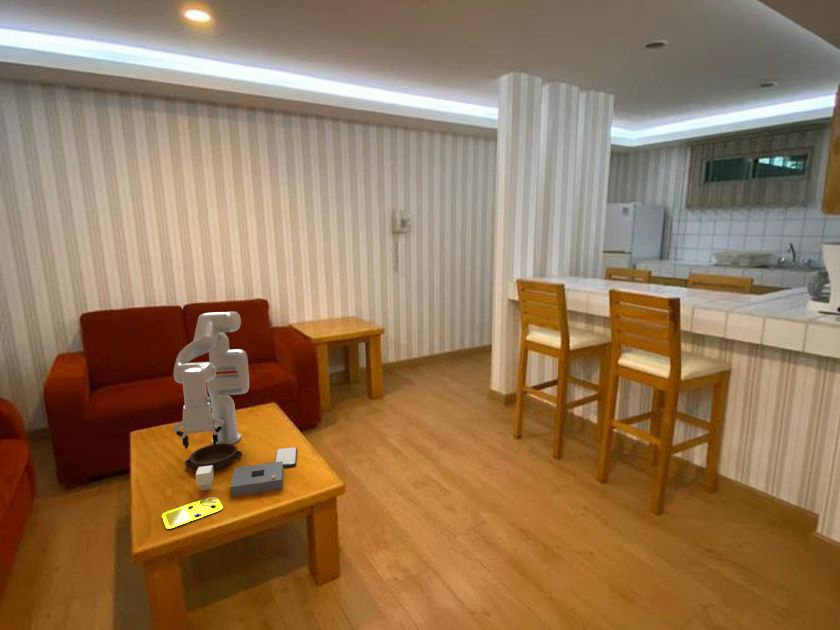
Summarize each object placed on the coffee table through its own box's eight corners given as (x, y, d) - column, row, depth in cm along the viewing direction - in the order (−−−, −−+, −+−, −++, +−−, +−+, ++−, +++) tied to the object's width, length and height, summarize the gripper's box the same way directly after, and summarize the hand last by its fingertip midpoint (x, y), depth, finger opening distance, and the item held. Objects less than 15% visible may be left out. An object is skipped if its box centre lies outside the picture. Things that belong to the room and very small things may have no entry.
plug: (200, 484, 176) (198, 467, 175) (214, 482, 178) (212, 465, 176) (197, 493, 171) (195, 474, 169) (212, 490, 172) (210, 472, 171)
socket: (235, 476, 181) (234, 466, 181) (283, 470, 186) (282, 459, 185) (231, 496, 168) (230, 485, 167) (282, 489, 173) (281, 478, 172)
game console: (167, 533, 150) (167, 529, 149) (160, 517, 158) (160, 513, 158) (224, 511, 161) (224, 507, 161) (215, 497, 169) (215, 493, 169)
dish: (243, 468, 188) (242, 456, 187) (183, 479, 180) (182, 468, 179) (242, 449, 204) (241, 439, 203) (187, 459, 196) (185, 448, 195)
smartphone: (276, 452, 202) (273, 470, 187) (276, 448, 202) (273, 466, 187) (297, 449, 204) (296, 467, 189) (297, 446, 204) (296, 463, 189)
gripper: (223, 395, 173) (227, 437, 176) (172, 400, 169) (178, 443, 172) (220, 402, 166) (224, 446, 169) (167, 408, 162) (173, 453, 165)
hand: (201, 445), depth 171 cm, fingers open, 9 cm apart
